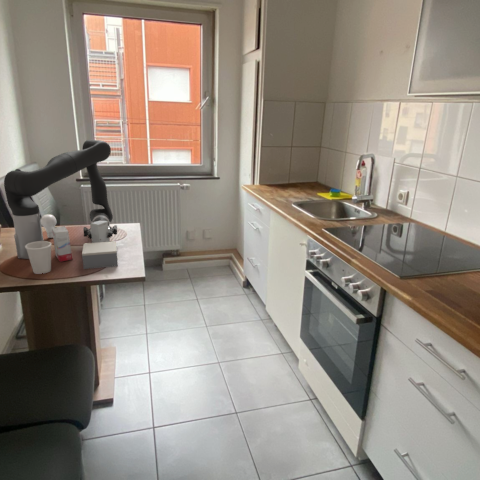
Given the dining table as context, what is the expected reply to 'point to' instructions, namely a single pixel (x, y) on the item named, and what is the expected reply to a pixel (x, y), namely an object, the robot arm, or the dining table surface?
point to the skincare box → (99, 231)
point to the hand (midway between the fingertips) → (100, 235)
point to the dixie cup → (40, 256)
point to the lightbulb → (48, 224)
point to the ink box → (62, 243)
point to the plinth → (99, 255)
